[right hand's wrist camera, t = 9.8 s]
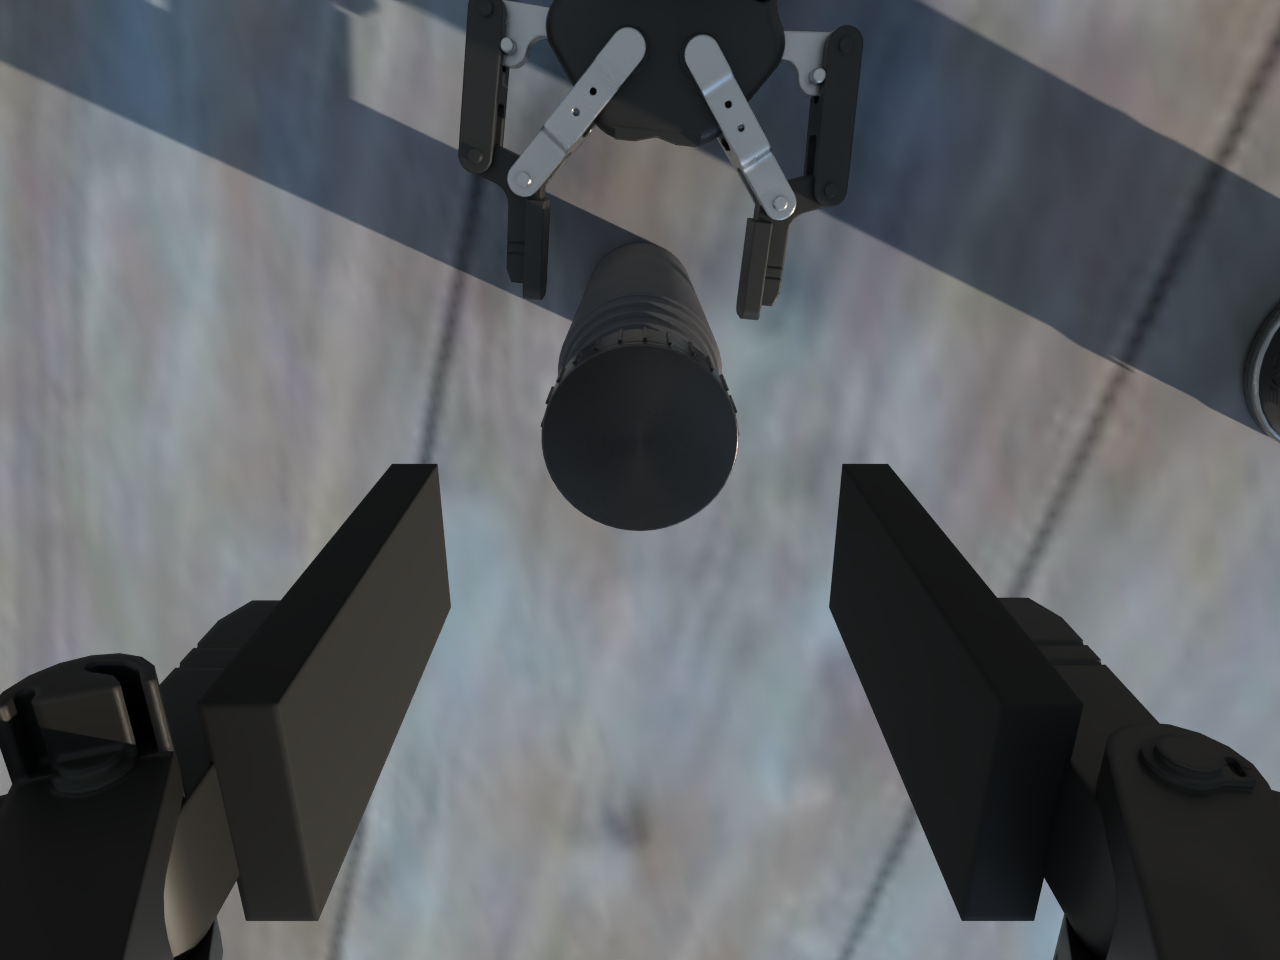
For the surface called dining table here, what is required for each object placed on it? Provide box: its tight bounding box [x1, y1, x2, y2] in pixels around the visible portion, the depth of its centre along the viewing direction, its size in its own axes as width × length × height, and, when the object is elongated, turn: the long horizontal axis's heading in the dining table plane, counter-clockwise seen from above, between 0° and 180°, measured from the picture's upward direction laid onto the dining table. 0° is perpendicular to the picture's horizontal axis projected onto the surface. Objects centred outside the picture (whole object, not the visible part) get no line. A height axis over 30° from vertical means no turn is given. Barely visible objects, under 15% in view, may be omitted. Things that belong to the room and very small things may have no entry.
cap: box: [541, 327, 739, 531], centre depth 20 cm, size 5×5×2 cm
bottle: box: [558, 243, 722, 375], centre depth 30 cm, size 5×5×22 cm
